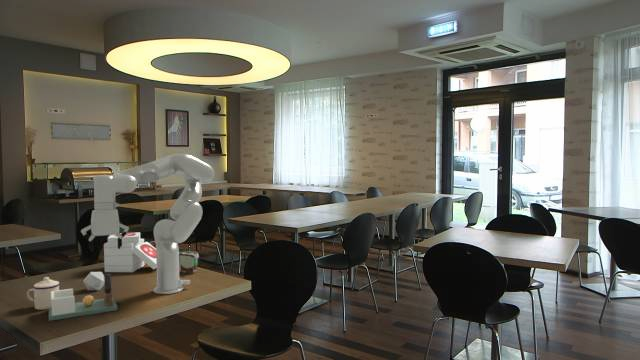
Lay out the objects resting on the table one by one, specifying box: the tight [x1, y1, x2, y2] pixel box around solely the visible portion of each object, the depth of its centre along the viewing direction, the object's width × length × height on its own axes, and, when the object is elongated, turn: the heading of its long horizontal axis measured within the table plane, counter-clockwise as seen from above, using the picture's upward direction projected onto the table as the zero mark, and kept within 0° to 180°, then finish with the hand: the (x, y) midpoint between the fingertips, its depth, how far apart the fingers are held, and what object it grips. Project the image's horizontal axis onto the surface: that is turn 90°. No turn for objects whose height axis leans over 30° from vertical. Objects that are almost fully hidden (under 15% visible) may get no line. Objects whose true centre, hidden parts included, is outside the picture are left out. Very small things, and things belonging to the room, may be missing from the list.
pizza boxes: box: [103, 231, 157, 273], centre depth 249 cm, size 19×30×18 cm, turn 87°
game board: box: [48, 288, 118, 322], centre depth 181 cm, size 23×14×8 cm, turn 120°
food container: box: [179, 250, 200, 274], centre depth 242 cm, size 12×6×10 cm, turn 58°
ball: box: [82, 294, 95, 306], centre depth 182 cm, size 4×4×4 cm
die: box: [82, 271, 105, 291], centre depth 209 cm, size 8×9×10 cm
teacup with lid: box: [26, 276, 61, 311], centre depth 186 cm, size 12×9×12 cm
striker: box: [103, 273, 113, 306], centre depth 185 cm, size 2×10×11 cm, turn 30°
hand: (105, 249), depth 185 cm, fingers open, 9 cm apart
